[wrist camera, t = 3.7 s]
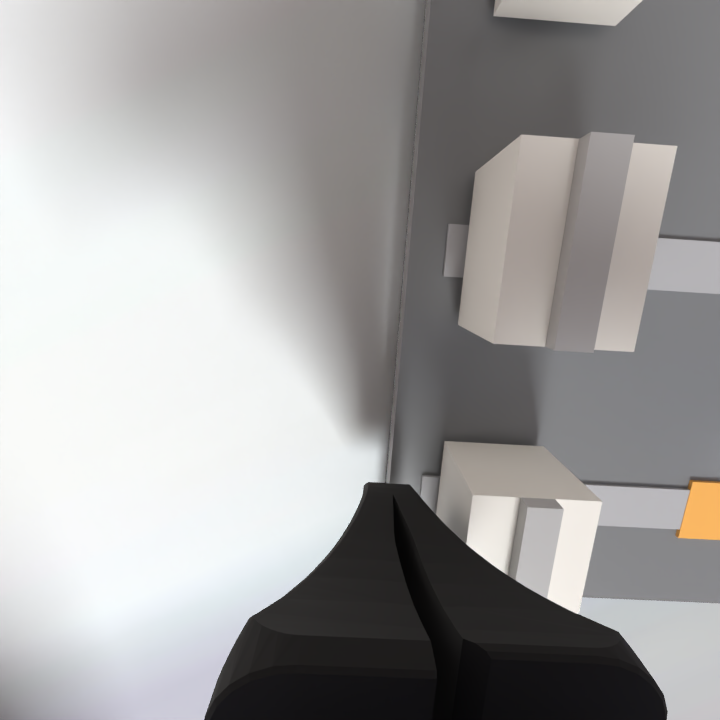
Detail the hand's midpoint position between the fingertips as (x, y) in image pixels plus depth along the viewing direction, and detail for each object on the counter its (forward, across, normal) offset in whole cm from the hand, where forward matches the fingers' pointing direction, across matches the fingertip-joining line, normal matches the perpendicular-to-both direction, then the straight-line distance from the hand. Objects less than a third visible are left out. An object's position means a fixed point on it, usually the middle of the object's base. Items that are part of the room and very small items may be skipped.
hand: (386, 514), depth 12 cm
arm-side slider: (+1, -3, 0) cm, 3 cm away
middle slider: (+1, -3, -8) cm, 8 cm away
